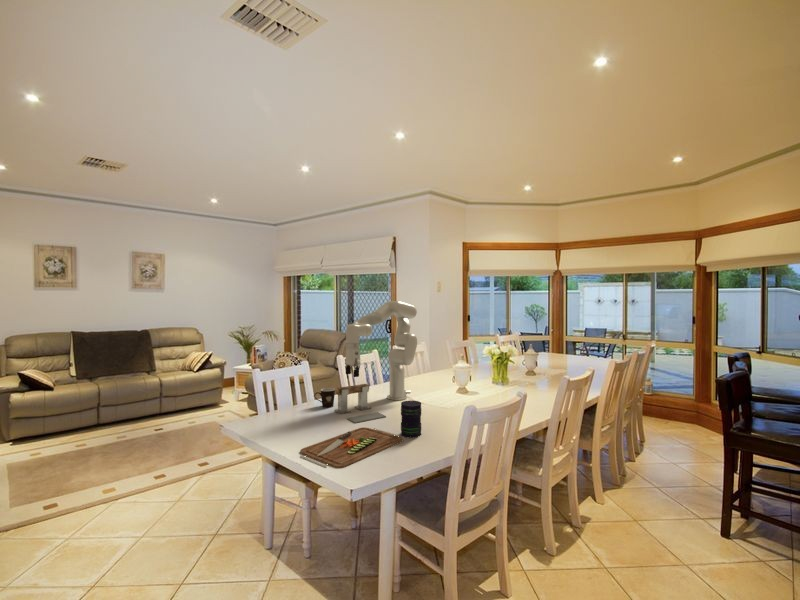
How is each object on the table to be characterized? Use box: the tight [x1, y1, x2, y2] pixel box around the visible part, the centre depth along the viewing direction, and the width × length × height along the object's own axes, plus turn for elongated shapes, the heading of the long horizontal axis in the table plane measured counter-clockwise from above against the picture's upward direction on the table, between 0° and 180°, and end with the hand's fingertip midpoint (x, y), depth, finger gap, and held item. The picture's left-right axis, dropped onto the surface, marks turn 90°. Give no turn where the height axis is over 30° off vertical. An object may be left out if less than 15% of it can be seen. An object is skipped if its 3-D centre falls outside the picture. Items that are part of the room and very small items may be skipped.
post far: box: [354, 385, 372, 411], centre depth 240 cm, size 7×7×13 cm
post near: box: [334, 389, 352, 415], centre depth 232 cm, size 7×7×13 cm
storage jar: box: [400, 400, 422, 439], centre depth 195 cm, size 10×10×15 cm
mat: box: [346, 411, 387, 424], centre depth 221 cm, size 19×9×1 cm, turn 124°
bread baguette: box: [335, 383, 370, 396], centre depth 236 cm, size 20×4×4 cm, turn 124°
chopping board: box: [299, 427, 403, 469], centre depth 180 cm, size 45×27×3 cm, turn 141°
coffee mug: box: [313, 387, 336, 409], centre depth 244 cm, size 12×9×10 cm
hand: (352, 375), depth 235 cm, fingers open, 9 cm apart
